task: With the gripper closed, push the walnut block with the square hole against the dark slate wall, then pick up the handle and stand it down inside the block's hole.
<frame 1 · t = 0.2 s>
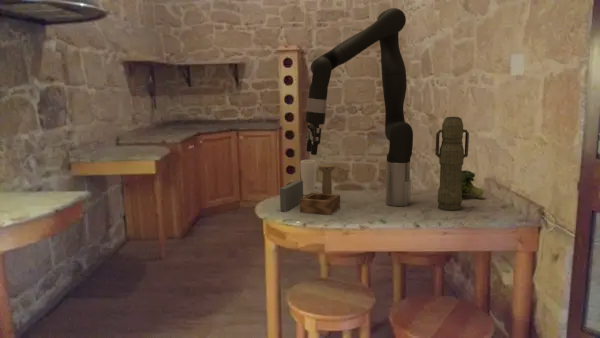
hand: (311, 153, 184), 22 cm above the table, tool pointing down, fingers open, 8 cm apart
handle: (327, 201, 198), on the table
vegetable: (465, 197, 201), on the table
thermos: (449, 208, 184), on the table
drinking glass: (308, 194, 211), on the table
slate wall: (292, 206, 191), on the table
walnut block: (320, 209, 185), on the table
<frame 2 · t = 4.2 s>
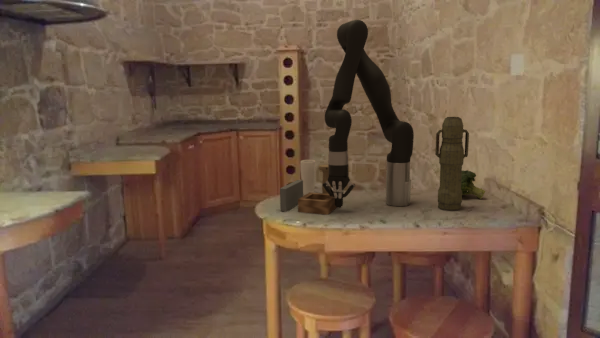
hand: (338, 207, 182), 2 cm above the table, tool pointing down, fingers closed
walnut block: (318, 209, 186), on the table, touching gripper
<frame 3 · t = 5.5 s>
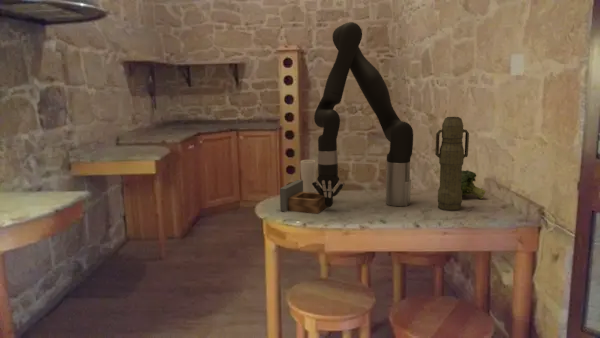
hand: (328, 206, 184), 2 cm above the table, tool pointing down, fingers closed
walnut block: (308, 208, 187), on the table, touching gripper
everything else where it was.
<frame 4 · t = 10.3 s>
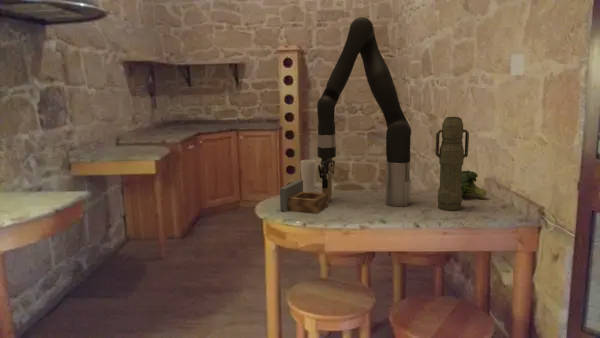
hand: (326, 186, 197), 6 cm above the table, tool pointing down, fingers closed on handle, 4 cm apart
handle: (327, 201, 198), on the table, touching gripper
walnut block: (308, 208, 187), on the table
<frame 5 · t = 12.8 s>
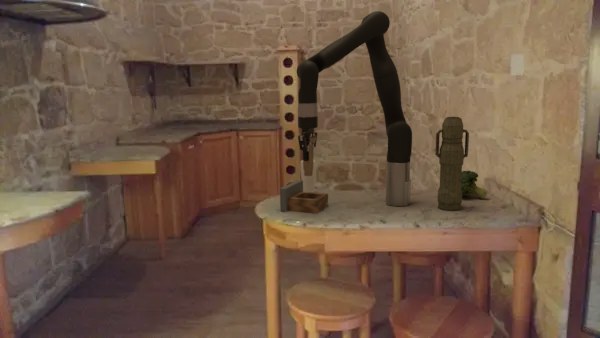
hand: (308, 159, 184), 19 cm above the table, tool pointing down, fingers closed on handle, 4 cm apart
handle: (308, 176, 185), point 13 cm above the table, touching gripper
when the fingers open (7 cm above the table, at t = 15.4 s): handle stays where it is, resting in walnut block.
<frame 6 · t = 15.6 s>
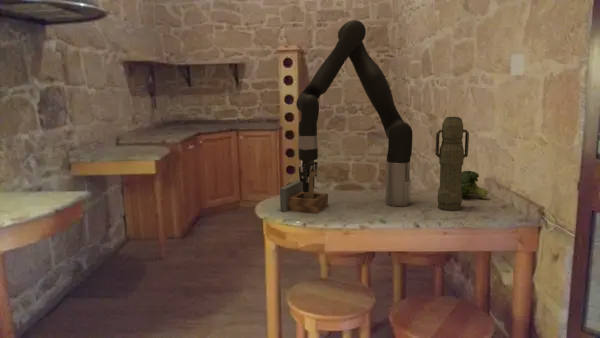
hand: (308, 190, 186), 7 cm above the table, tool pointing down, fingers open, 5 cm apart
handle: (309, 208, 187), resting in walnut block
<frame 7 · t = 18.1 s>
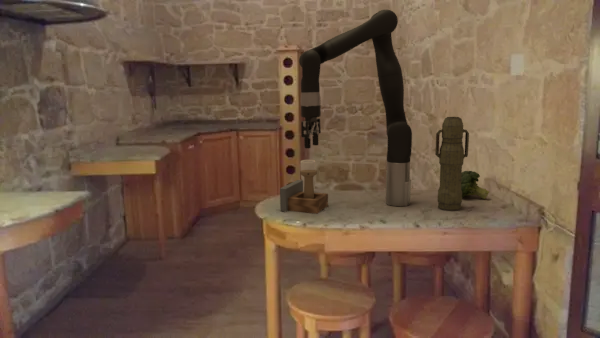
hand: (311, 146, 184), 24 cm above the table, tool pointing down, fingers open, 8 cm apart
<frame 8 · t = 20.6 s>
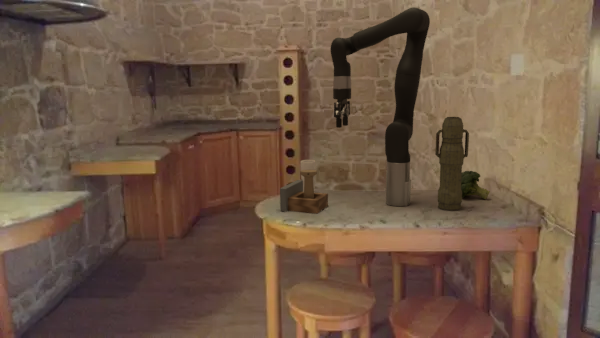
hand: (342, 126, 201), 30 cm above the table, tool pointing down, fingers open, 8 cm apart
at the end: handle 0.5 cm off-centre on the walnut block, point 0.0 cm above the walnut block's base; handle tilted 0°; walnut block inside the target area (0.6 cm from its centre), on the table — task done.
